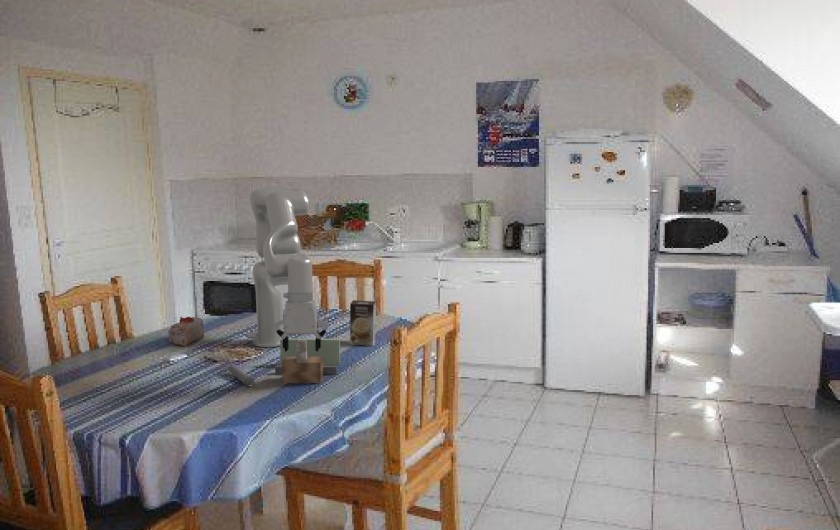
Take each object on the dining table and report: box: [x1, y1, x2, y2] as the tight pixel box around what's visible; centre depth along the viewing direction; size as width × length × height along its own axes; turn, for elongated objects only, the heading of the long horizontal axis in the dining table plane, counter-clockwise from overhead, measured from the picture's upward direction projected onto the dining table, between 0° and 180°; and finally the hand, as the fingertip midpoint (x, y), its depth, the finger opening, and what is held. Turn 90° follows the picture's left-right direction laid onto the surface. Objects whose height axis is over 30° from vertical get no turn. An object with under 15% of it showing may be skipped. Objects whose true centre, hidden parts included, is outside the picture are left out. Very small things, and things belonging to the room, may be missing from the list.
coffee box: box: [349, 299, 377, 347], centre depth 251 cm, size 9×6×16 cm
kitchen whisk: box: [206, 345, 255, 387], centre depth 217 cm, size 6×34×6 cm, turn 38°
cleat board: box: [274, 338, 341, 375], centre depth 222 cm, size 20×11×9 cm, turn 91°
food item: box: [167, 316, 205, 347], centre depth 252 cm, size 14×8×10 cm, turn 165°
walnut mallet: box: [281, 340, 324, 385], centre depth 211 cm, size 12×6×13 cm, turn 91°
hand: (302, 350), depth 209 cm, fingers open, 9 cm apart
